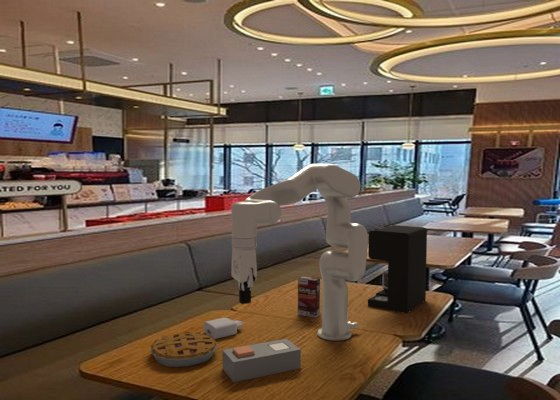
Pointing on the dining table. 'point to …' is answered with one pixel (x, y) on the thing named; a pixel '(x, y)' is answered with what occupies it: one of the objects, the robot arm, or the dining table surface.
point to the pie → (183, 349)
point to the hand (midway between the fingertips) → (245, 302)
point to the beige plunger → (279, 346)
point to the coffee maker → (400, 266)
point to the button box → (261, 361)
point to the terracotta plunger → (243, 351)
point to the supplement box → (308, 296)
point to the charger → (221, 327)
